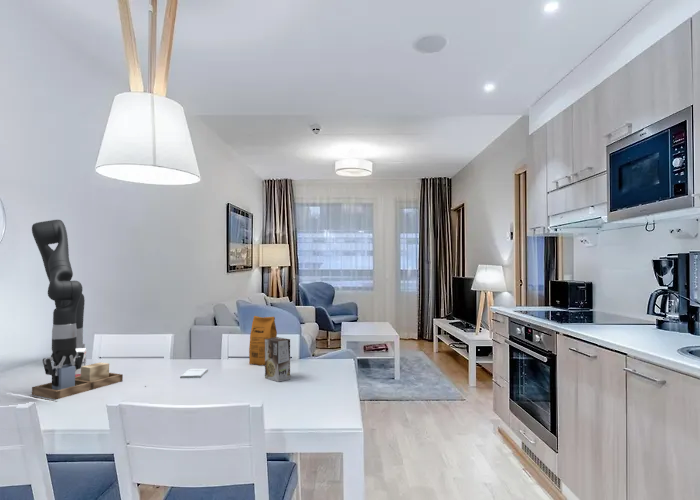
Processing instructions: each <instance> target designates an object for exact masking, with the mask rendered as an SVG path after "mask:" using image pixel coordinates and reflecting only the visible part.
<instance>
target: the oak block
mask: <svg viewBox="0 0 700 500" xmlns="http://www.w3.org/2000/svg"><path fill="white" fill-rule="evenodd" d="M109 373H110V363H108V362H102V361H101V362H95V363H91V364H86V366H82V367H81V380H84V381H90V382H92V381H96V380H100V379H104V378H108V377H109Z"/></svg>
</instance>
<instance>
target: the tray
mask: <svg viewBox="0 0 700 500" xmlns="http://www.w3.org/2000/svg"><path fill="white" fill-rule="evenodd" d="M123 376H124V375H123V374H121V373H115V372H109V377H108V378H104V379H100V380H96V381H92V382H90V381H84V380H81V376H77V377H75V386H73V387H69V388H65V389H61V390H54V389H52V381H51V382H47V383H44V384H39V385H35V386H31V395H32V396H31V398H36V399H41V400H47V401H50V402H51V401H52V402H56V403H57V402H58V400H59V399H63V398H67V397H71V396H74V395H78V394H82V393H85V392H89V391H93V390H96V389H100V388H103V387H107V386H110V385H114V384H117V383H122V382H123V378H124V377H123ZM52 399H54V400H52Z"/></svg>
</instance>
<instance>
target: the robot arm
mask: <svg viewBox="0 0 700 500" xmlns="http://www.w3.org/2000/svg"><path fill="white" fill-rule="evenodd" d="M31 233H32V236H33V239H34V241H35V244H36V246H37V248H38V251H39V254H40V255H41V259H42V262H43V263H42V264H43V266H44V269H45V273H46V276H47V279H48V281H49V284H48V288H47V296H48V297H49V299H50V300H52V301H54V305H55V308H54V309H53V312H52V314H53V315H52V330H51V352H52V353H51V355H50V356H49V357H47V358H42V364H43V367H44V368H43V369H44V373H45V375H47V376H51V382H52V385H53V386H58V385H59V376H58V374H59V369H61V368H62V366H63V365H67V366H75V371H76V370H77V369H80V368H81V365H82V361H83V357H84V353H83V352H76V350H75V349H76V348H86V344H85V343H83V342H84V341H83V340H84V335H83V334H84V314H85V300H86V299H85V295H84V294H83V285H82V283H81V282H80V281H78V280H72V278H73V276H74V273H73V269H72V265H71V260H70V254H69V251H70V250H69V240H68V232H67V227H66V225H65V223H64V222H63V221H62V220H61V219H51V220H45V221H39V222H35V223H33V224H32V225H31ZM53 244H57V245H56V246H55V249H52V247H50V245H53ZM74 357H76V359H75V362H74ZM55 370H56V371H55Z"/></svg>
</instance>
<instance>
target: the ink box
mask: <svg viewBox="0 0 700 500" xmlns="http://www.w3.org/2000/svg"><path fill="white" fill-rule="evenodd" d="M75 350H76V352H83V353H84V357H83V361H82V365H81V367H82V366H86V365H87V347H85V348H76V349H75ZM75 359H76V357H74V362H75ZM77 376H81V368H80V369H77V370H76V371H75V377H77Z"/></svg>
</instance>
